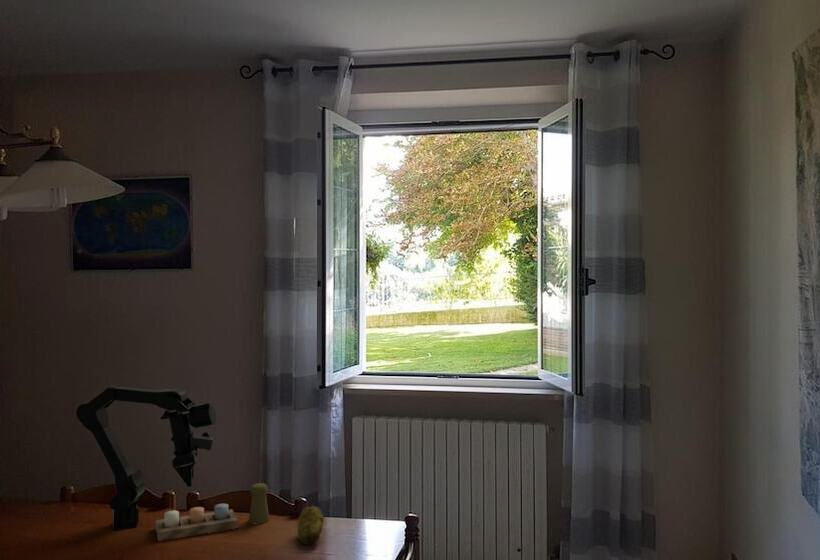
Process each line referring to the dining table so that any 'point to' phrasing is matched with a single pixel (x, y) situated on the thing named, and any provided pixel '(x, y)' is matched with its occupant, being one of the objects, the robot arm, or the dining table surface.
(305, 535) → the potato
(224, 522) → the button board
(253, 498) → the green shaker
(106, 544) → the dining table surface
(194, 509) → the peach short cylinder
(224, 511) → the pale blue cylinder
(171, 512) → the cream button
